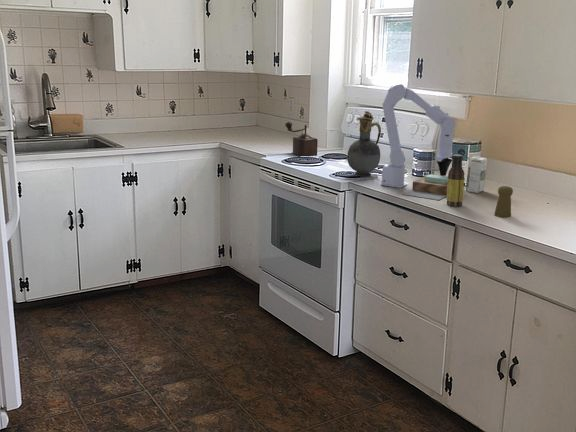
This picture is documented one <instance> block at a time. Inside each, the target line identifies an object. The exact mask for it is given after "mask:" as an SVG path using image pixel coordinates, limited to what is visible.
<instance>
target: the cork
mask: <svg viewBox="0 0 576 432" xmlns="http://www.w3.org/2000/svg"><path fill="white" fill-rule="evenodd" d="M497 193H498V198H497V202H496V206H495V210H494V214H493V216H495V217H498V218H503V219H504V218H506V219H509V218H511V217H512V202H511V201H512V196H513V193H514V190H513V188H512V187H511V186H508V185H502V186H500V187H498V189H497Z"/></svg>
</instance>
